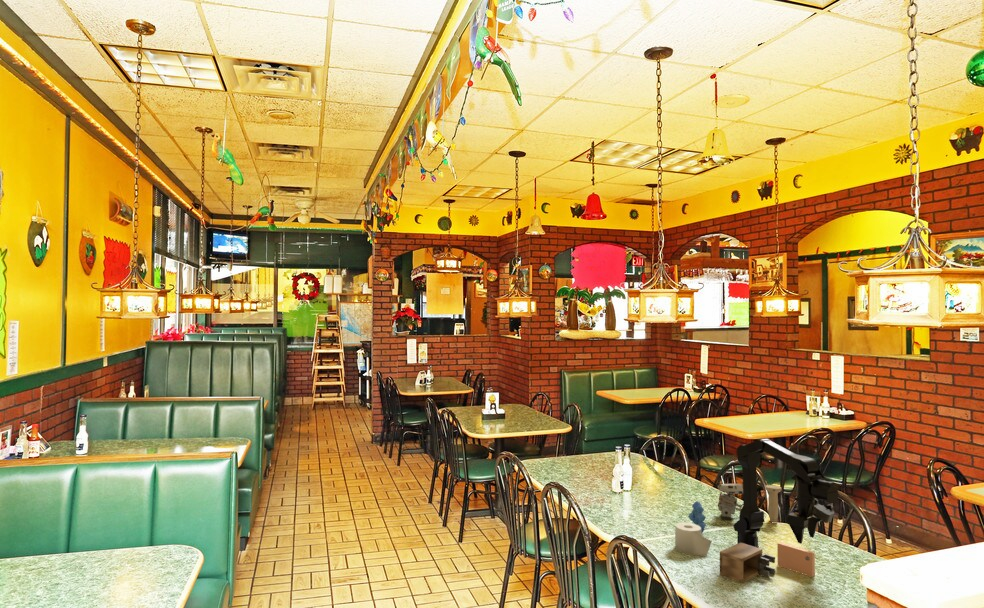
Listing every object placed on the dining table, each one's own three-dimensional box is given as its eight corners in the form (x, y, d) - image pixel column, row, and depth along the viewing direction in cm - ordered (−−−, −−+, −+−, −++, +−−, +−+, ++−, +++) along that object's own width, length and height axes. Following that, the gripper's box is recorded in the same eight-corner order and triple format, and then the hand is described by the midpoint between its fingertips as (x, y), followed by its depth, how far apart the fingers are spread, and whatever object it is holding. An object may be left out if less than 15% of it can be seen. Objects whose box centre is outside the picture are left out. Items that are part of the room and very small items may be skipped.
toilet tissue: (711, 557, 222) (711, 533, 222) (674, 551, 227) (674, 528, 227) (712, 548, 230) (712, 526, 230) (676, 543, 235) (676, 521, 235)
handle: (782, 524, 258) (782, 489, 259) (765, 522, 261) (765, 487, 261) (780, 520, 263) (780, 486, 263) (764, 518, 265) (764, 484, 266)
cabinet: (719, 575, 206) (719, 551, 206) (740, 564, 215) (740, 542, 215) (741, 583, 200) (741, 559, 200) (762, 572, 209) (762, 549, 209)
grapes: (684, 526, 255) (684, 497, 255) (700, 526, 254) (700, 498, 255) (692, 536, 243) (692, 506, 243) (708, 536, 243) (709, 506, 243)
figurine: (745, 522, 260) (745, 487, 260) (717, 519, 264) (717, 484, 265) (745, 516, 268) (745, 482, 269) (717, 512, 273) (717, 479, 273)
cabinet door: (776, 566, 214) (776, 543, 214) (779, 564, 216) (779, 542, 216) (811, 577, 205) (811, 554, 205) (814, 575, 206) (814, 552, 207)
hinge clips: (758, 574, 207) (758, 556, 207) (765, 570, 210) (764, 553, 210) (768, 577, 204) (768, 560, 204) (774, 574, 207) (774, 556, 207)
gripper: (818, 506, 196) (819, 553, 196) (841, 495, 208) (842, 541, 208) (784, 497, 205) (784, 543, 205) (808, 488, 217) (808, 531, 216)
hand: (806, 540), depth 208 cm, fingers open, 9 cm apart
